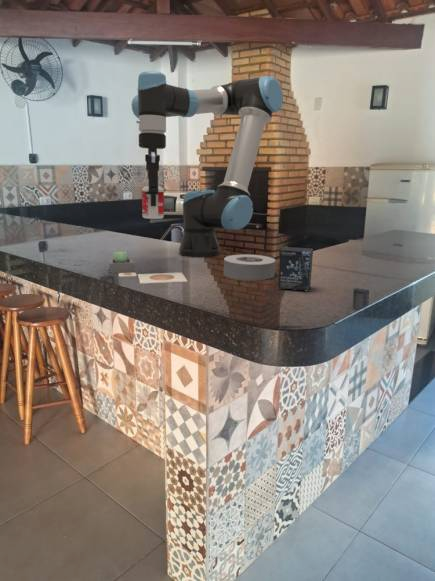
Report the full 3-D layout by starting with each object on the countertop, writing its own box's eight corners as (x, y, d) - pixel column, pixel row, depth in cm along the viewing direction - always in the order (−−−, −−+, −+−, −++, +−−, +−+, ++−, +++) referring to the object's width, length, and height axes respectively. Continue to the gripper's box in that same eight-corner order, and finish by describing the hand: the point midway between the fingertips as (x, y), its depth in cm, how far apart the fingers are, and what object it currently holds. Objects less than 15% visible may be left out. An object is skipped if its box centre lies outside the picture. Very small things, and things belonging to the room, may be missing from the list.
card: (135, 273, 132) (135, 272, 132) (136, 276, 128) (136, 275, 128) (118, 274, 131) (118, 272, 131) (118, 277, 127) (118, 275, 127)
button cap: (127, 263, 138) (127, 251, 137) (128, 266, 134) (127, 253, 133) (114, 264, 137) (114, 251, 136) (114, 266, 133) (114, 253, 132)
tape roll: (285, 275, 132) (286, 259, 131) (252, 284, 121) (252, 266, 120) (246, 268, 142) (246, 252, 141) (212, 275, 132) (212, 258, 131)
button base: (132, 267, 140) (132, 258, 139) (133, 272, 133) (133, 262, 133) (110, 268, 138) (109, 259, 138) (109, 273, 132) (109, 263, 131)
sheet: (181, 273, 133) (181, 272, 133) (187, 281, 122) (187, 280, 122) (137, 275, 130) (137, 273, 130) (140, 284, 119) (140, 282, 119)
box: (277, 289, 115) (279, 249, 112) (281, 284, 120) (283, 246, 117) (308, 292, 113) (311, 251, 110) (310, 287, 118) (313, 248, 115)
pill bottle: (144, 219, 124) (144, 178, 122) (140, 217, 130) (139, 178, 127) (166, 219, 126) (165, 179, 124) (161, 217, 132) (161, 179, 129)
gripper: (138, 136, 131) (139, 214, 136) (138, 128, 113) (139, 219, 118) (163, 137, 132) (163, 215, 138) (168, 130, 114) (168, 220, 120)
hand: (152, 217), depth 128 cm, fingers closed on pill bottle, 6 cm apart
